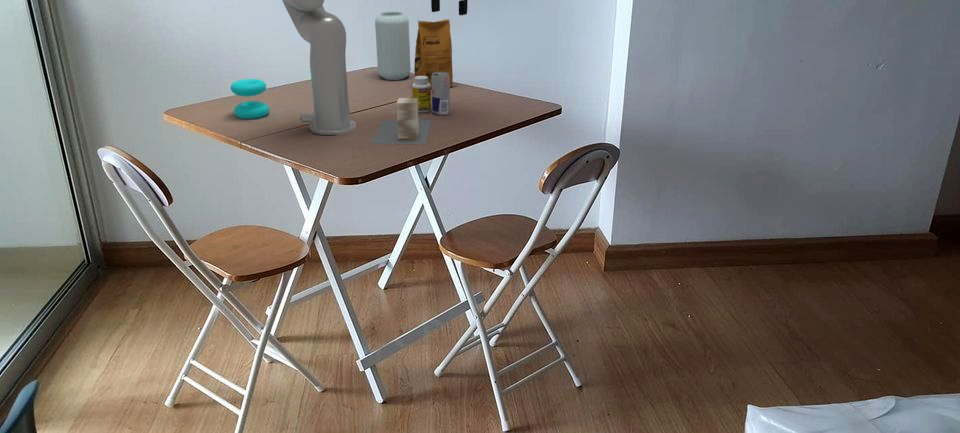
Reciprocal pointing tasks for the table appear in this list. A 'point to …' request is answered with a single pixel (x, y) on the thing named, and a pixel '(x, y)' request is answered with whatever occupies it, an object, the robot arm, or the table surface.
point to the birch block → (407, 118)
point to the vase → (393, 45)
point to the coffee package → (433, 49)
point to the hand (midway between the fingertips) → (449, 13)
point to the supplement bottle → (422, 93)
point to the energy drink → (440, 93)
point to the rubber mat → (390, 133)
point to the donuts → (251, 107)
